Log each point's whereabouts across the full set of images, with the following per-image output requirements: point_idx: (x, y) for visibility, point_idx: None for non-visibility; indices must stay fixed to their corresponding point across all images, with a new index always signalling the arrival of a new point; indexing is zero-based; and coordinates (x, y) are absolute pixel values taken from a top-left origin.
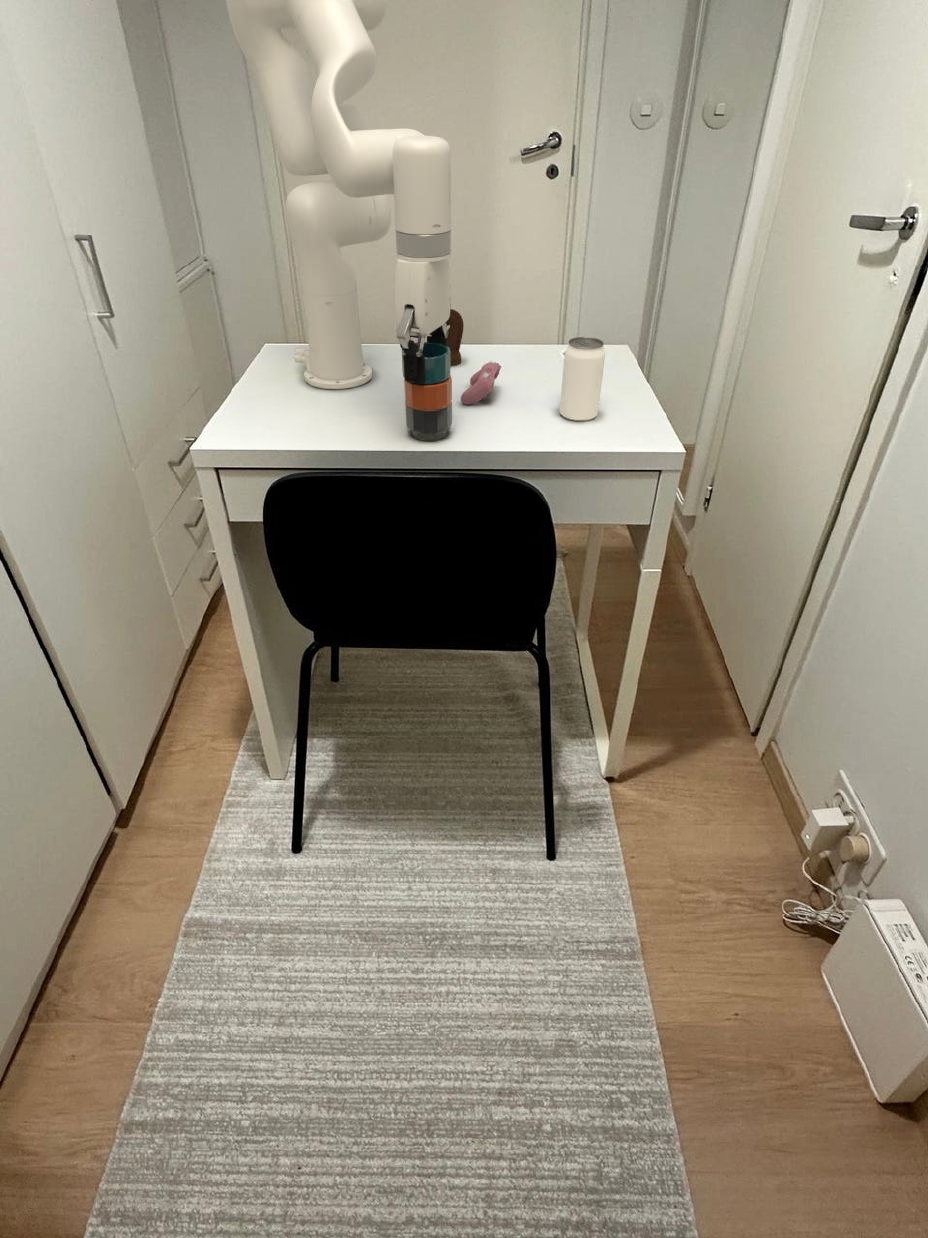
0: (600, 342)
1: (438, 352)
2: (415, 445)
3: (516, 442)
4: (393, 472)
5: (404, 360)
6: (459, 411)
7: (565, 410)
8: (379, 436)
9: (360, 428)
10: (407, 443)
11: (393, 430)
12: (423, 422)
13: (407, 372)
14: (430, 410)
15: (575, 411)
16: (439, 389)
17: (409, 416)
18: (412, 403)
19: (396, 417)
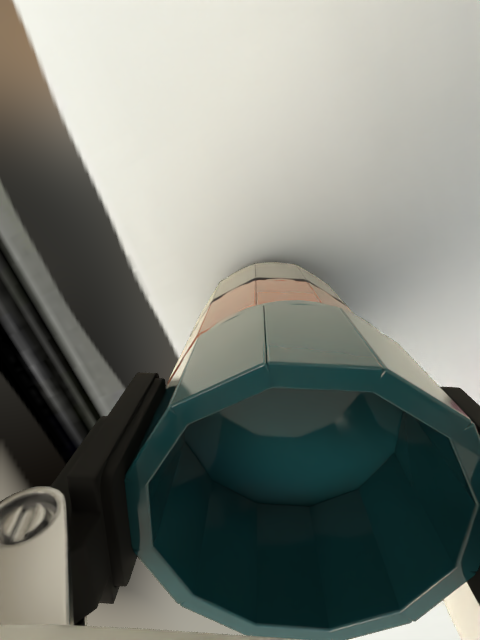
0: None
1: (427, 508)
2: (188, 313)
3: None
4: (27, 322)
5: (94, 440)
6: (451, 343)
7: (463, 590)
8: (199, 186)
9: (231, 88)
10: (190, 288)
11: (256, 210)
12: None
13: (96, 425)
14: None
15: (453, 612)
16: None
17: (206, 306)
18: (185, 345)
19: (357, 172)
